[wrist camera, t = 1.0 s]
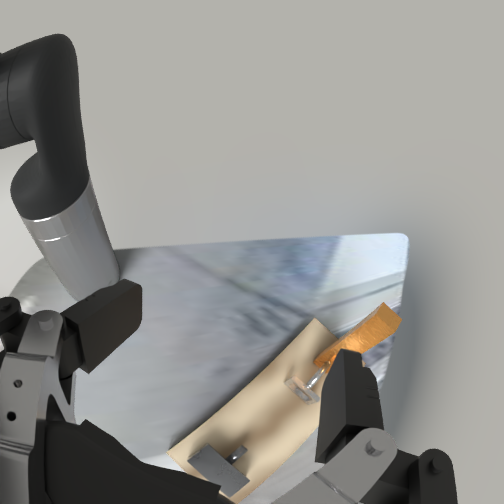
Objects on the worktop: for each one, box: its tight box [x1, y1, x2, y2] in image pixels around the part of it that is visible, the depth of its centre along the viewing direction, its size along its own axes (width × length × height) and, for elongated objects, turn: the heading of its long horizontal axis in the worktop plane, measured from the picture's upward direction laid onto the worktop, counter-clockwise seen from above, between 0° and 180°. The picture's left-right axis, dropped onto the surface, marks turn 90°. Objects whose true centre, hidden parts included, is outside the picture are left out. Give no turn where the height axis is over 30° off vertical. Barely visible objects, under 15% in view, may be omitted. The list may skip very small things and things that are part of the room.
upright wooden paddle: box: [284, 302, 402, 405], centre depth 26 cm, size 4×10×15 cm, turn 136°
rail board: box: [166, 318, 366, 504], centre depth 29 cm, size 10×26×2 cm, turn 136°
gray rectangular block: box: [187, 443, 250, 498], centre depth 22 cm, size 6×6×3 cm
